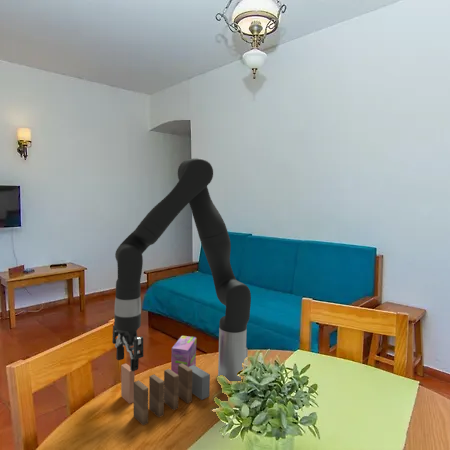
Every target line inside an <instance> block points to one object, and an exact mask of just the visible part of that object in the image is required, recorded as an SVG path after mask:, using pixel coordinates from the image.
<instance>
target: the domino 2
mask: <svg viewBox="0 0 450 450" xmlns="http://www.w3.org/2000/svg"><path fill="white" fill-rule="evenodd" d="M148 384H149V385H148V410H149V411H150V412H152V413H153V414H154V415H155V416H156V417H158V418H161V417H162V416H163V417H164V415H165V413H164V412H165V410H164V409H165V407H164V406H165V403H164V379H162V378H160V377H159V376H157V375H156V374H151V375H149V383H148Z"/></svg>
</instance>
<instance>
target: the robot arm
mask: <svg viewBox="0 0 450 450" xmlns="http://www.w3.org/2000/svg"><path fill="white" fill-rule="evenodd" d="M177 178H178V182H177V183H176V184H175V186H174V187H173V188H172V190H171V191H170V192H169V193H168V194H167V195H165V197H164V198H163V199H162V200H160V201H159V202H158V203H157V204H156V205H154V206H153V208H151V210H149V212H148V213H147V214H146V216H145V217H144V218H143V219H142V220H141V221H140V223H139V224H138V225H137V226H136V228H135V229H134V230H133V231H132V232H131V233H130V234H129V235H128V236H126V238H125V239H123V241H122V242H121V243H120V244H119V245H118V247H117V248H116V250H115V256H114V257H115V260H116V265H117V279H116V282H115V298H114V299H115V300H114V320H113V321H114V325H112V342H111V343H112V344H113V345H114V347H115V348H116V361H122V360H124V359H125V349H126V352H128V353H129V357H130V365H129V366H130V370H131V371H134V372H135V371H137V370H138V369H139V359H141V358H144V337H143V336H138V332H137V331H138V330H139V329H140V328H141V325H142V324H141V323H142V299H141V288H142V287H141V284H142V283H141V279H142V273H143V261H144V259H143V253H144V252H145V251H146V250H147V249H148V248H149V247H150V246H152V245H154V244H155V243H156V242H157V241H158V240H159V239H160V238H161V236H162V235H163V234H164V233H165V232H166V230H167V228H168V227H169V226H170V225H171V223H172V222H173V221H174V220H175V219H176V217H177V216H178V215H179V214H180V213H181V212H182V211H183V210H184V209H185V207H187V205H188V204H189V207H190V210H191V213H192V214H191V215H192V218H193V221H194V225H195V228H196V229H197V230H196V231H197V234H198V237H199V240H200V244H201V246H202V249H203V252H204V255H205V257H206V260H207V263H208V266H209V269H210V271H211V276H212V280H213V284H214V289H215V293H216V297H217V299H218V300H219V302H220V303H221V304H222V305H223V306H225V313H224V314H225V315H224V316H222V317H220V319H219V328H218V332H219V333H218V367H217V368H218V369H217V370H218V371H217V372H218V373H217V377H218V376H220V375H223V376H225V377H226V378H227V379H228V380H229V381H240V382H242V381H241V377H239V376H237V373H238V372H239V371H241V370H242V369H243V367H242V363H243V362H244V359H245V358H246V357H248V355H249V353H248V352H249V349H248V347H247V332H248V331H247V328H248V326H247V325H248V323H249V321H250V315H251V302H252V295H251V290H250V288H249V286H247V284H245V283H243V282H241V281H239V280H237V279H236V276H235V274H234V271H233V268H232V265H231V246H232V245H231V237H230V236H229V235H230V234H229V232H228V229H227V226H226V224H225V220H224V219H223V217H222V215H221V214H220V212H219V211H218V209H217V207H216V206H215V204H214V202H213V200H212V198H211V195H210V192H209V189H208V186H209V185H210V183H211V182H212V180H213V178H214V169H213V166H212V164H211V163H210V162H209V161H208V160H207V159H204V158H201V157H200V158H199V157H194V158H188V159H184V160H183V161H182V162H181V163H180V164H179V166H178V168H177Z"/></svg>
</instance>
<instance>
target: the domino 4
mask: <svg viewBox="0 0 450 450" xmlns="http://www.w3.org/2000/svg"><path fill="white" fill-rule="evenodd" d="M178 375H179V389H178V398H179V399H181V400H182V401H184V402H185V403H186V404H190V403H191V402H192V401H193V393H192V369H191V368H189V367H187V366H186V365H184V364H183V363H182V364H179V365H178Z"/></svg>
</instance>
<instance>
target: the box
mask: <svg viewBox="0 0 450 450" xmlns="http://www.w3.org/2000/svg"><path fill="white" fill-rule="evenodd" d="M170 361H171V363H170V364H171V367H170V370H172V371H173V372H175V373H176V374H178V365H179V364H182V363H183V364H184V365H186V366H187V367H189V366H192V365H195V366H196V365H197V364H196V363H197V337H196V336H189V335H188V336H187V335H181V336H180V337H179V338H178V339H177V341H176V342H175V343H174V345H173V346H172V347H171V360H170ZM196 367H197V366H196Z"/></svg>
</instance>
